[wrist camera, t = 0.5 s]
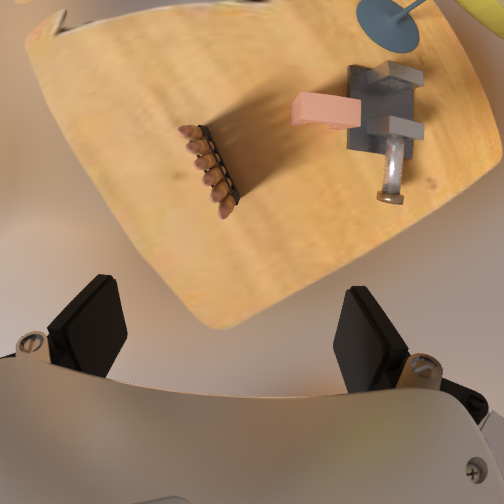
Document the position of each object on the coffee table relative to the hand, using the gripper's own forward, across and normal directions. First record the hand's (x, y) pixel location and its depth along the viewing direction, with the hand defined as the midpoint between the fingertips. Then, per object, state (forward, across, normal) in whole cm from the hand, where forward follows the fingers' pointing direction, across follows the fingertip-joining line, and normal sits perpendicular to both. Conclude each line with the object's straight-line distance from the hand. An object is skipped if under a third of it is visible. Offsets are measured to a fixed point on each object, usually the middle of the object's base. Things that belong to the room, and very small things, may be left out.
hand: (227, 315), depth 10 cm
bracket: (+27, -18, -13) cm, 35 cm away
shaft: (+24, -18, -6) cm, 31 cm away
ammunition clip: (+27, +4, -4) cm, 28 cm away
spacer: (+27, -9, -11) cm, 30 cm away
